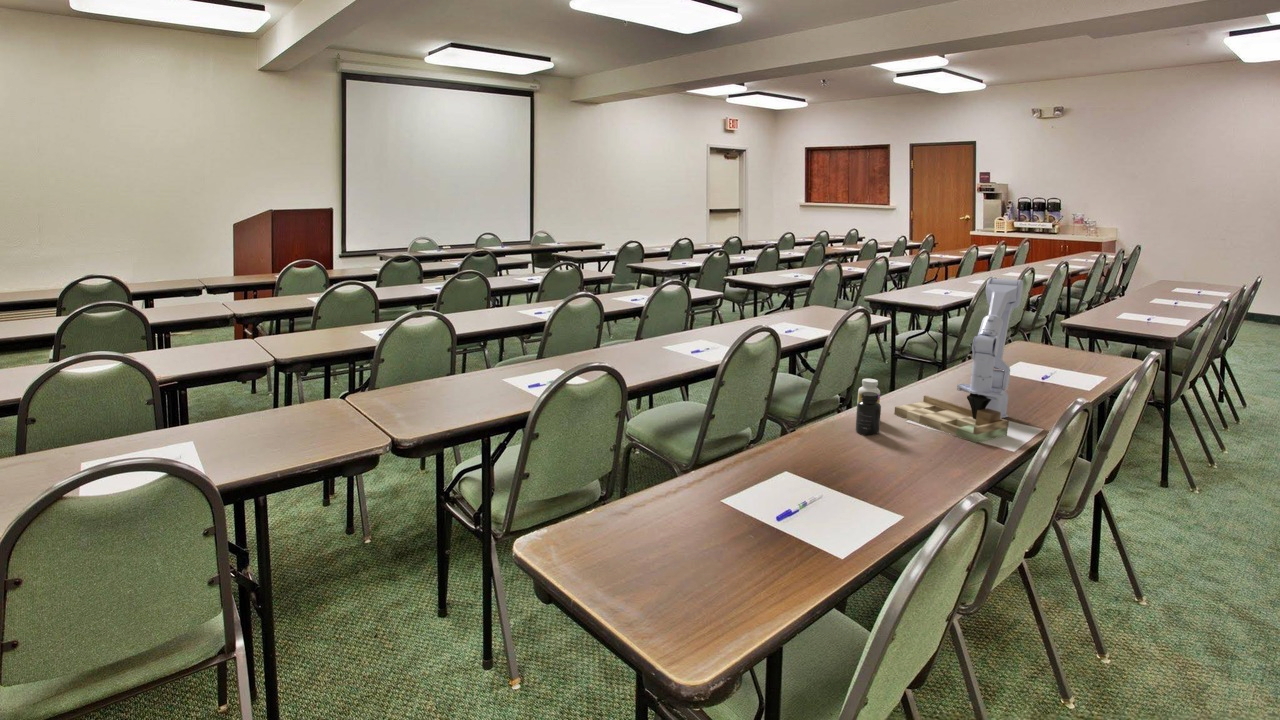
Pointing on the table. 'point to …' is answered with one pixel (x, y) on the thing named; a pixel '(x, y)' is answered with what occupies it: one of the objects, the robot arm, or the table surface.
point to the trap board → (951, 419)
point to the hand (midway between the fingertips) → (976, 418)
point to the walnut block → (987, 416)
